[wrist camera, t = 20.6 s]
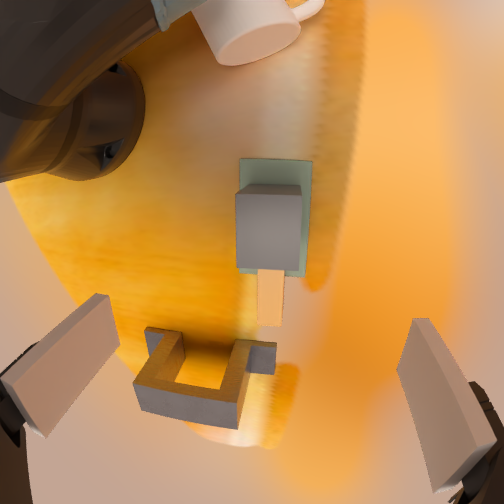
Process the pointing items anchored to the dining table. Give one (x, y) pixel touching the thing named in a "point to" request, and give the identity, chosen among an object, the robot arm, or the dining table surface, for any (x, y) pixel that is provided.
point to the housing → (193, 397)
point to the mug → (251, 27)
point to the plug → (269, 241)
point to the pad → (282, 175)
